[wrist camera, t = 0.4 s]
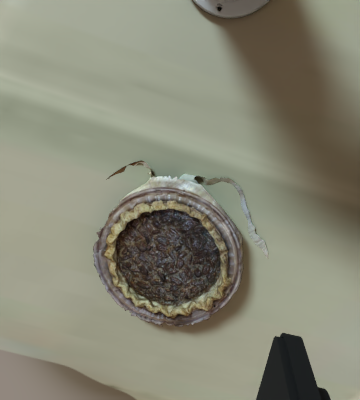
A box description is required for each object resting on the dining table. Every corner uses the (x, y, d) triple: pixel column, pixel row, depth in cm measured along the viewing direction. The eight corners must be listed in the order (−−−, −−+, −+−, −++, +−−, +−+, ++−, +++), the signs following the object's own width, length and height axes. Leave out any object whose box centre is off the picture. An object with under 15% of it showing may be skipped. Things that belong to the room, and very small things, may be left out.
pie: (286, 307, 52) (292, 328, 47) (124, 345, 58) (114, 367, 53) (226, 128, 46) (226, 131, 41) (53, 191, 52) (35, 200, 47)
